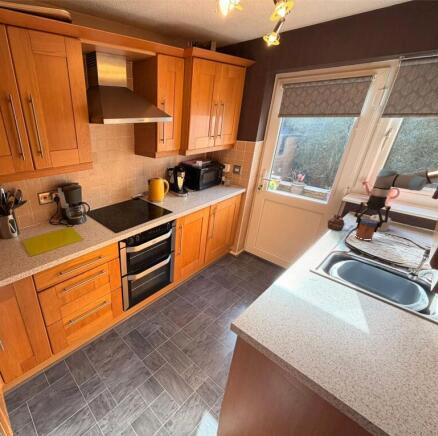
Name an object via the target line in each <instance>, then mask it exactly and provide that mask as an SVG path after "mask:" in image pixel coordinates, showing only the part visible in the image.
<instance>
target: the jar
mask: <svg viewBox="0 0 438 436" xmlns="http://www.w3.org/2000/svg"><path fill="white" fill-rule="evenodd" d="M376 227H377V226H368V225H364V224H362V223H359V226H358V228H356V229H357V230H356V232H355V235H356V236H357V237H356V236H355V235H354V238H355V239H357V240H358V241H362V242H371V241H372V239H373V238H374V235H375V233H376V232H375V229H376ZM358 237H359V238H358ZM360 238H362V239H360ZM364 239H371V240H364Z"/></svg>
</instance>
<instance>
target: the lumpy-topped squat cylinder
mask: <svg viewBox="0 0 438 436" xmlns="http://www.w3.org/2000/svg"><path fill="white" fill-rule="evenodd" d="M382 218H383V220H385V215H382ZM369 219H372V220H375V221H377V222H380V219H379V215H378V214H373V215H370V218H369ZM391 223H392V218H391V217H388V222H387V223H382V226H381V227H380V228H379V227H378V229H377V231H376V232H388V230H389V228H390V226H391Z"/></svg>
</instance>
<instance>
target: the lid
mask: <svg viewBox="0 0 438 436" xmlns="http://www.w3.org/2000/svg"><path fill="white" fill-rule="evenodd" d="M360 223H362V224H364V225H368V226H377V224H378V222H377V221H375V220H372V219H370V218H361V221H360Z"/></svg>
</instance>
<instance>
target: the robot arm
mask: <svg viewBox="0 0 438 436" xmlns="http://www.w3.org/2000/svg"><path fill="white" fill-rule="evenodd" d="M436 183H438V167H437V168H433V169H430V170H425V171H424V170H423V171H420V172H415V173H412V174H409V175H408V174H400V173H398V170H397V169H392V168H381V169H379V171H378V173H377V175H376V177H375V180H374V184H373V187H372V189H371V192H370V194H369V198H368V200H367V201H361V202H360V204H359V207H358V208H357V210H356V212H355V214H354V217H355V218H356V219H355V220H356V221H355V223H356V229H358V226H359V223H360V221H361V219H362V217H363V216H364V215H365V214H366V213H367V212H368V211H369V210H370V211H375V212H376V211H377V215H379V219H380V222H378V224H377V227H376V229H375V232H374V233H377V232H378V231H377V229H378V227H379V228H380V227H381V226H382V223H387V222H388V218H389V213H390V210H391V208H392V206H390V205H386V202H387V199H388V196H389V194H390V192H391V189H392V188H396V189H401V190H402V189H403V190H409V191H415V192H417V191H418V192H420V191H423V189H424V188H425V186H426V185H432V184H436ZM365 205H366V206H367V207H366V208H365V209H364V210H363V211H362V212H361V213H360V211H361V210H362V208H363V207H364V206H365ZM383 208H384V210H385V215H384V216H385V220H383V218H382V216H383V213H382V209H383Z"/></svg>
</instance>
